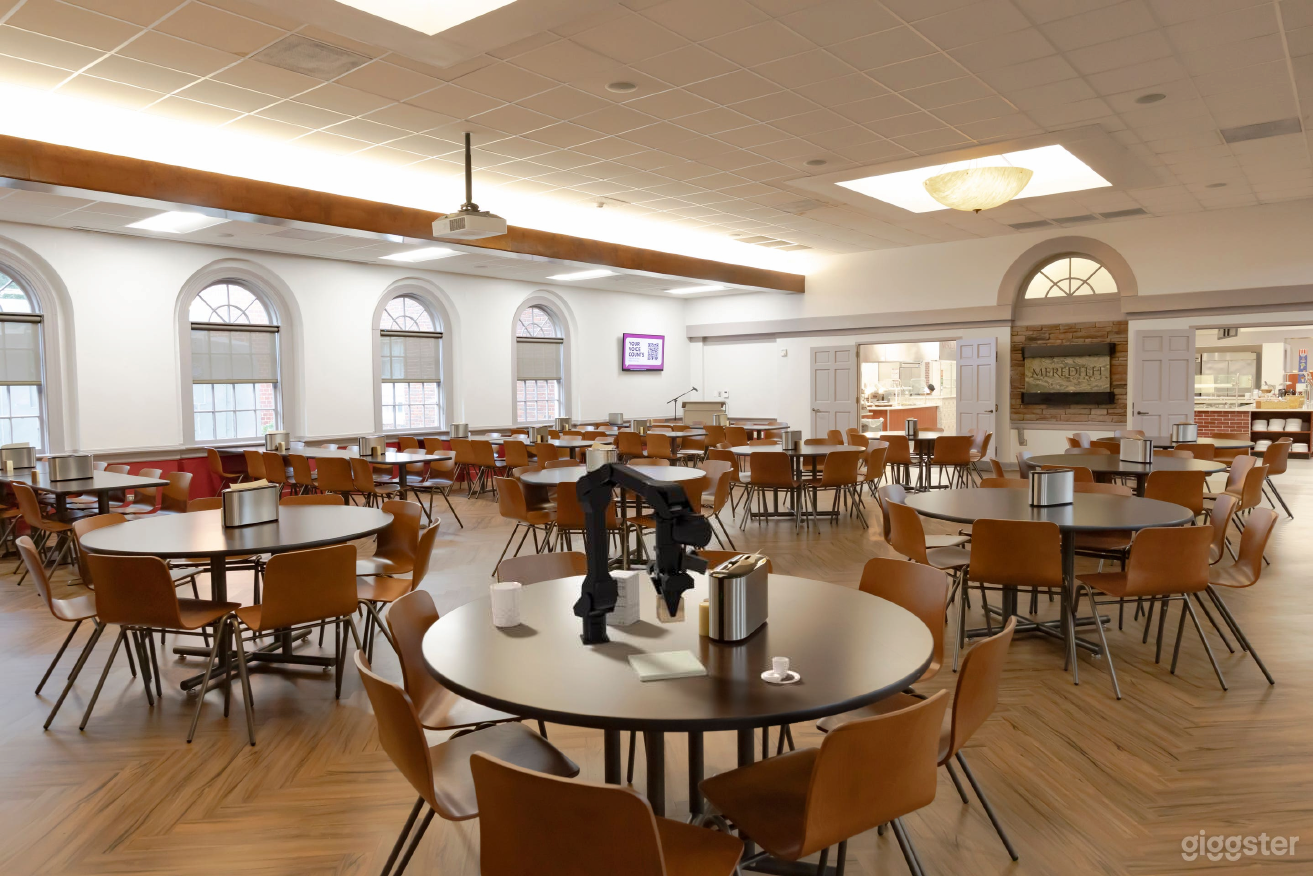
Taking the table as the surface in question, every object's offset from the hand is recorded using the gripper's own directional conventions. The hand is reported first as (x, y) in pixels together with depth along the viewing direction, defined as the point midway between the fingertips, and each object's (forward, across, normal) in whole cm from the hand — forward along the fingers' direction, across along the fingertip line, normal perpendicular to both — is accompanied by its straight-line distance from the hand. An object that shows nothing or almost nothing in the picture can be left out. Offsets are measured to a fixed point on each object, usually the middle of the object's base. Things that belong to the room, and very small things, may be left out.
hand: (670, 613), depth 178 cm
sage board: (+11, -1, +1) cm, 11 cm away
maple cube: (+1, 0, 0) cm, 1 cm away
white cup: (+11, +43, +33) cm, 55 cm away
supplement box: (+11, +37, +4) cm, 39 cm away
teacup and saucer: (+12, -12, -17) cm, 24 cm away
